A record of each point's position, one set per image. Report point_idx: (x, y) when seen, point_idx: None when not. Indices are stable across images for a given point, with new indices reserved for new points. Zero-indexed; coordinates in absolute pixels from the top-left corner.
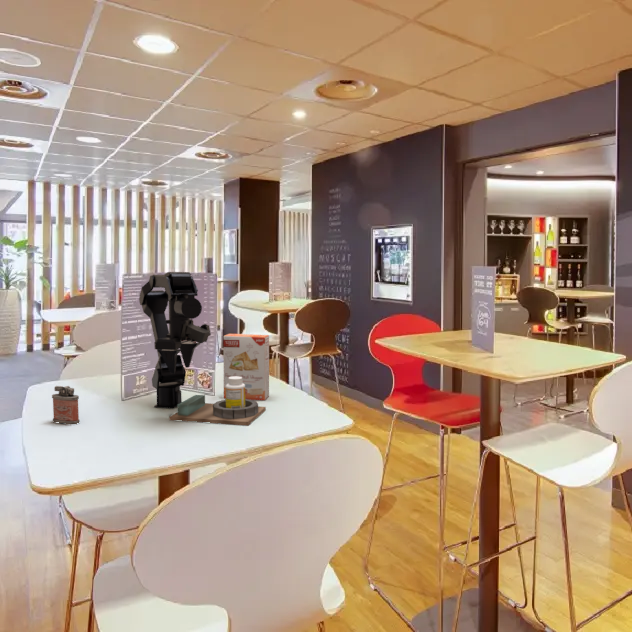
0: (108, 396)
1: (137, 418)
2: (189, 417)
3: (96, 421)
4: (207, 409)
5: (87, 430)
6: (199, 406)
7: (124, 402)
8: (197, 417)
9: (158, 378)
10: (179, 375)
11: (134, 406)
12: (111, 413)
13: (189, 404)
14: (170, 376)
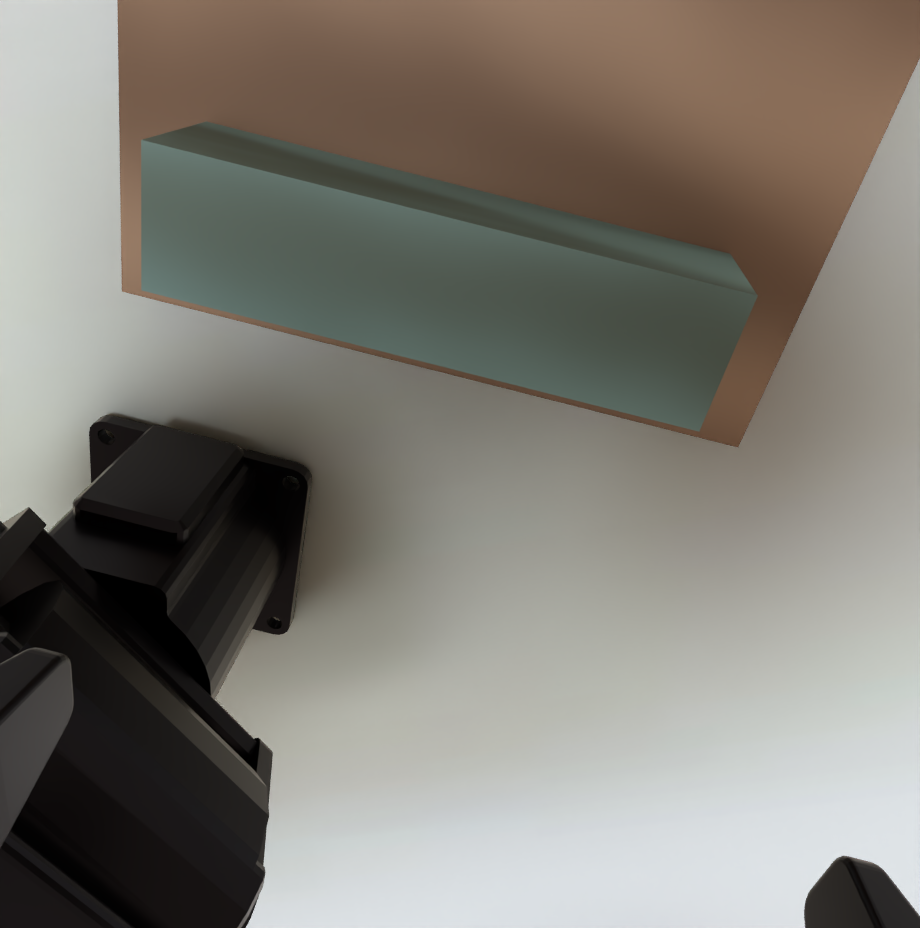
0: None
1: (625, 682)
2: (823, 212)
3: (675, 881)
4: (431, 32)
5: None
6: (375, 170)
7: None
8: (844, 99)
9: (257, 860)
10: (78, 666)
11: None
12: (470, 839)
13: (687, 277)
14: (186, 766)
